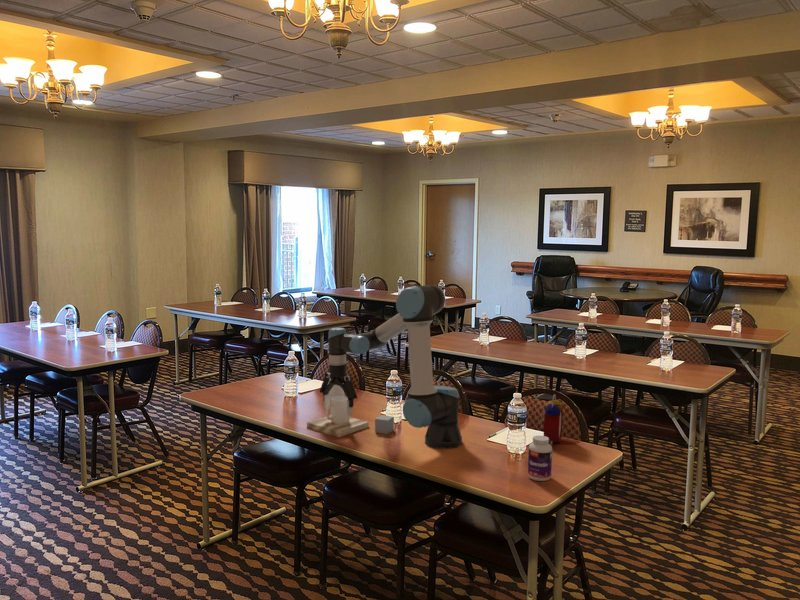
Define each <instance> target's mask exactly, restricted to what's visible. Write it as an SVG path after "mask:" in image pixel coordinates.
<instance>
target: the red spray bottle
mask: <svg viewBox="0 0 800 600" xmlns="http://www.w3.org/2000/svg"><path fill="white" fill-rule="evenodd" d="M563 406H564V404H563V402H561V401H559V400H557V395H556V394H553V397H552V400H549V402H548V403H547V404H546V406H545V408H544V411H543V412H541V414H542V415H541V417H542V418H544V419H541V418H539V419H538V420H539V421H540V422H543V425H541V426H540V427H541V428H543V436H546V437H548V438H549V444H550V445H551V447H552V446H553V443H561V439H562V435H563V422H564V421H563V417H564V416H563V410H564V409H563Z"/></svg>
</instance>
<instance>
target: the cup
mask: <svg viewBox="0 0 800 600" xmlns="http://www.w3.org/2000/svg"><path fill="white" fill-rule="evenodd" d="M330 380H331V378H330ZM330 380H329V382H330ZM328 384H329V383H328ZM343 384H344V383H343ZM328 394H330V401H331V398H332V397H336V396H345V393H344V391H343V389H342V387H340V386H338V385H334V386H333V387H332V389H331V390H330V391H329V393H328Z"/></svg>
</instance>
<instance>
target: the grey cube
mask: <svg viewBox="0 0 800 600" xmlns="http://www.w3.org/2000/svg"><path fill="white" fill-rule="evenodd" d="M394 430H395V417H394V416H390V415H384V414H381V415H379V416H377V417H375V418H374V433H378V434H385V435H389V434H390V433H392V432H393V431H394Z"/></svg>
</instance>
